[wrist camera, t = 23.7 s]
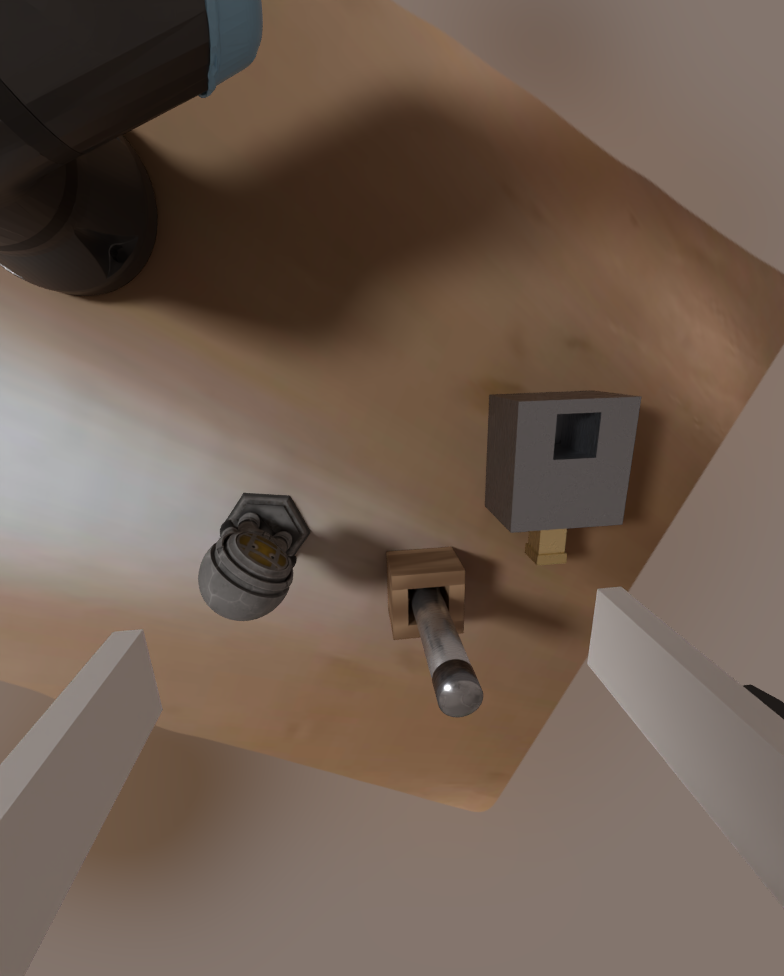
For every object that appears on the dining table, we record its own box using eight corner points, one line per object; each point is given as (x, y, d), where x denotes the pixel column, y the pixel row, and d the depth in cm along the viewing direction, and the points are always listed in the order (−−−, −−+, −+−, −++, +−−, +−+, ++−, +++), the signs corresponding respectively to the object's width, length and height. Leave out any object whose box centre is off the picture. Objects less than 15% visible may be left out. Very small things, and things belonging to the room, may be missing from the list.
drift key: (524, 552, 49) (536, 565, 46) (530, 478, 46) (543, 486, 43) (552, 550, 49) (566, 563, 46) (559, 476, 46) (574, 484, 43)
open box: (386, 551, 50) (391, 576, 44) (451, 546, 50) (465, 570, 45) (388, 609, 52) (393, 639, 46) (450, 603, 53) (463, 633, 47)
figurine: (322, 515, 47) (312, 582, 33) (276, 580, 49) (248, 670, 35) (255, 475, 45) (214, 527, 31) (210, 544, 47) (151, 625, 33)
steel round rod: (405, 570, 49) (438, 682, 32) (435, 567, 50) (484, 677, 33) (405, 597, 51) (438, 719, 33) (435, 594, 51) (482, 714, 34)
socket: (484, 506, 49) (510, 532, 42) (489, 394, 45) (518, 401, 38) (580, 499, 50) (622, 524, 43) (592, 390, 46) (641, 396, 39)
